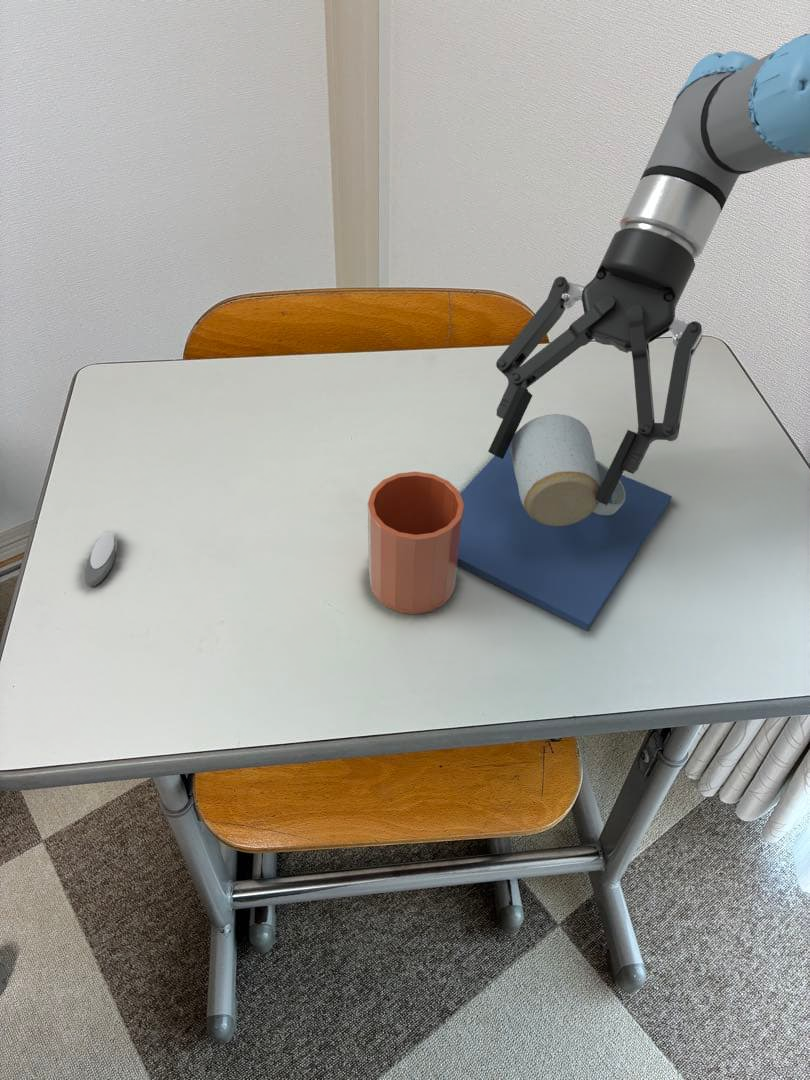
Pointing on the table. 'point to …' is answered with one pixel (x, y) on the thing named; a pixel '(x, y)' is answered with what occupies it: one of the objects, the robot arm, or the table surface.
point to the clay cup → (414, 541)
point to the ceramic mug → (559, 471)
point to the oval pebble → (101, 559)
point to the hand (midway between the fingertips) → (546, 478)
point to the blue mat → (552, 543)
